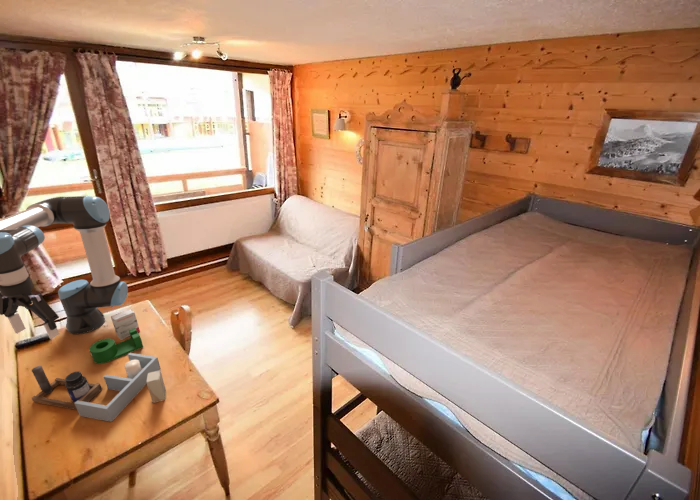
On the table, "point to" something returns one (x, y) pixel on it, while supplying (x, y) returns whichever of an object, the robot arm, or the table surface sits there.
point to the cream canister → (132, 368)
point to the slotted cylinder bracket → (114, 348)
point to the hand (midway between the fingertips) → (37, 333)
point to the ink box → (124, 323)
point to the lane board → (126, 388)
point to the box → (156, 386)
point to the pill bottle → (76, 386)
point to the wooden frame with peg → (48, 387)
